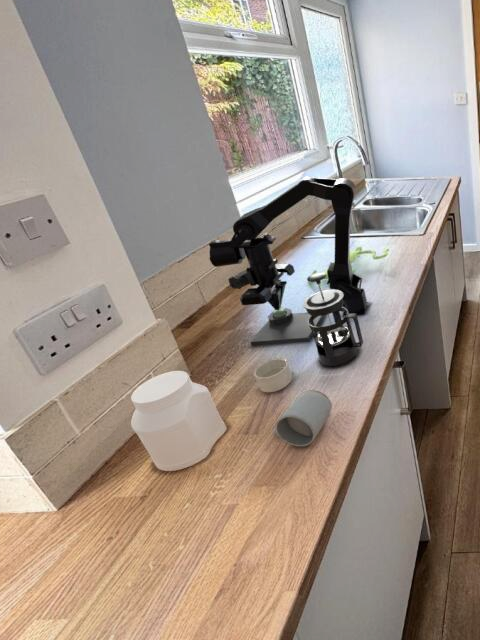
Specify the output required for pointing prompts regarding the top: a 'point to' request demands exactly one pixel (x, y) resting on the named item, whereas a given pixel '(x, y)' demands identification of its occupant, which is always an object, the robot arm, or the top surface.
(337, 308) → the french press
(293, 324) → the scale
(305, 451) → the top surface
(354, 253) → the figurine
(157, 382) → the jar
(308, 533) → the top surface
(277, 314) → the button
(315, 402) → the ceramic mug
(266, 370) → the cup
